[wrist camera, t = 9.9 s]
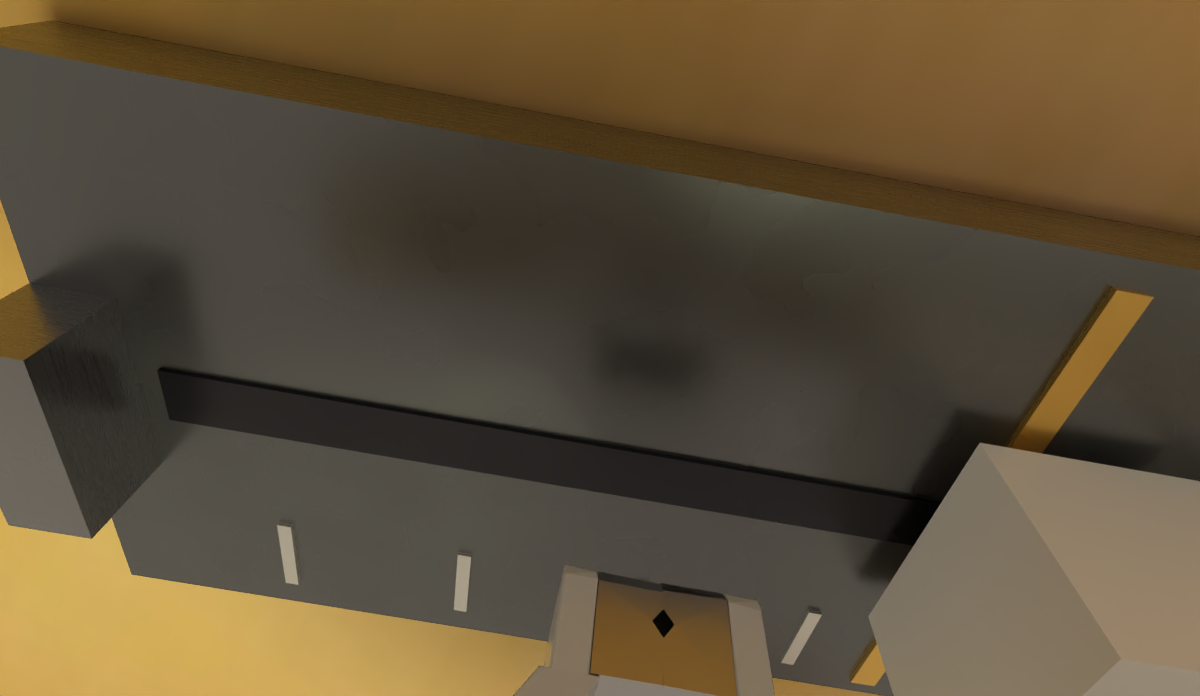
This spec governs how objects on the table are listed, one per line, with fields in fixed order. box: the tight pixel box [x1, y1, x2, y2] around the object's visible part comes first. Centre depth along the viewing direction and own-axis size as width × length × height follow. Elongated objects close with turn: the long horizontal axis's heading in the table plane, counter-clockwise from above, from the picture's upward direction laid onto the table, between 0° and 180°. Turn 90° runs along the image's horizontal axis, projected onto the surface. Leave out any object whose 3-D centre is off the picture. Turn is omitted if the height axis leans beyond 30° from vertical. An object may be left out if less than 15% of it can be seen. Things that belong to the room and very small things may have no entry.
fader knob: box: [868, 443, 1200, 696], centre depth 11 cm, size 4×5×4 cm
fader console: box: [0, 21, 1200, 696], centre depth 13 cm, size 24×12×4 cm, turn 81°
